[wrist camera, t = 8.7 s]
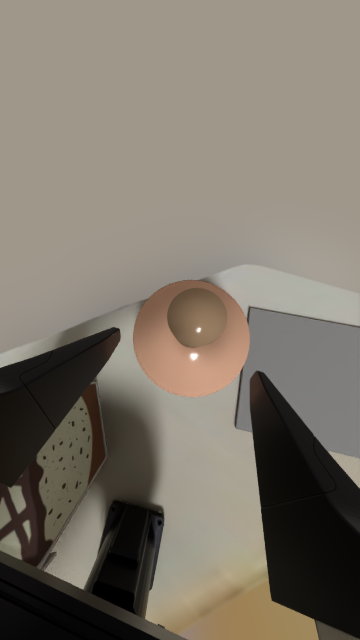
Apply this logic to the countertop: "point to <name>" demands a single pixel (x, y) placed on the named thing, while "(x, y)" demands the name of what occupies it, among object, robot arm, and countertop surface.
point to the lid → (191, 338)
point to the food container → (53, 484)
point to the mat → (307, 374)
